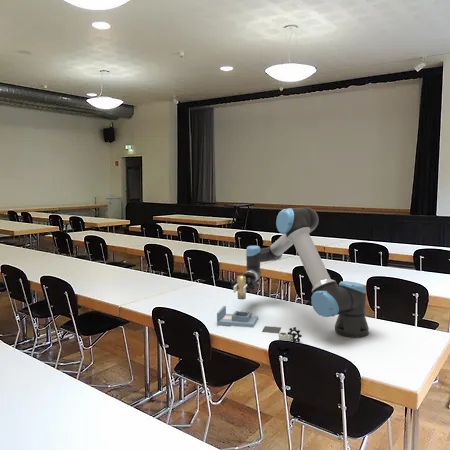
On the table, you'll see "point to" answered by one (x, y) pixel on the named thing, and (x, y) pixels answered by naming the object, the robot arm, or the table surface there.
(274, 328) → the pad
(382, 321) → the table surface
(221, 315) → the grey socket fixture
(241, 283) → the brass peg
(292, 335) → the valve
